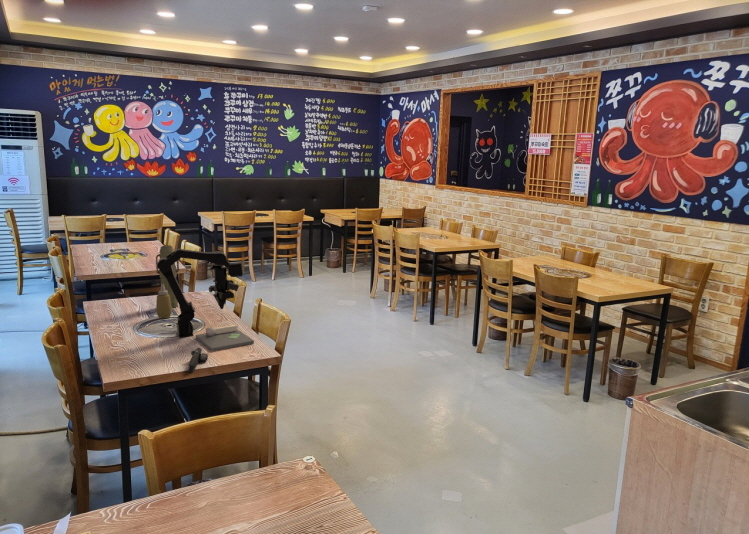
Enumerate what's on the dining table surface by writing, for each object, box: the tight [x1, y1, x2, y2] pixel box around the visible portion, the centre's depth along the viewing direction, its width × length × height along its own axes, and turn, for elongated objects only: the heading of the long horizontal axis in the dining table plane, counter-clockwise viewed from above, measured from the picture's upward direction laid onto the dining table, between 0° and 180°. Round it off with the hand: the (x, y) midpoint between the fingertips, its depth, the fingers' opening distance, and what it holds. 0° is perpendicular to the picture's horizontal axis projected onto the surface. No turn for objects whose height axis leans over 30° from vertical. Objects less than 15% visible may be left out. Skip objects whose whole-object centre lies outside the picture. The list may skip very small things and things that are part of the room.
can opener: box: [187, 347, 209, 374], centre depth 234 cm, size 18×7×6 cm, turn 2°
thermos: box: [155, 244, 180, 309], centre depth 315 cm, size 9×12×35 cm
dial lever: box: [205, 324, 239, 336], centre depth 271 cm, size 15×4×3 cm, turn 125°
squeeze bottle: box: [155, 283, 173, 319], centre depth 298 cm, size 8×8×18 cm
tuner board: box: [195, 329, 255, 352], centre depth 265 cm, size 20×22×2 cm
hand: (221, 308), depth 275 cm, fingers closed
